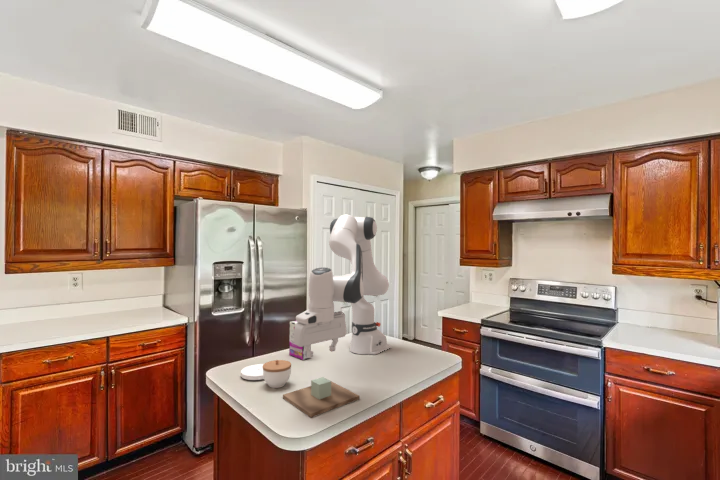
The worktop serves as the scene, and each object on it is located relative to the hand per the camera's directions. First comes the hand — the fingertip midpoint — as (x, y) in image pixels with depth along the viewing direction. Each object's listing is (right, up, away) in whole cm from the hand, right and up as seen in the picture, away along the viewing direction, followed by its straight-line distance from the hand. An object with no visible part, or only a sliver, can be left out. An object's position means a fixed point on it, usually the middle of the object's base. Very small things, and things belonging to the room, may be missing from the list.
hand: (321, 353), depth 122 cm
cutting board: (0, -16, 0) cm, 16 cm away
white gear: (-28, -16, +21) cm, 39 cm away
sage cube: (0, -14, 0) cm, 14 cm away
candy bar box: (-15, -16, +45) cm, 50 cm away
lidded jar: (-18, -16, +12) cm, 27 cm away
